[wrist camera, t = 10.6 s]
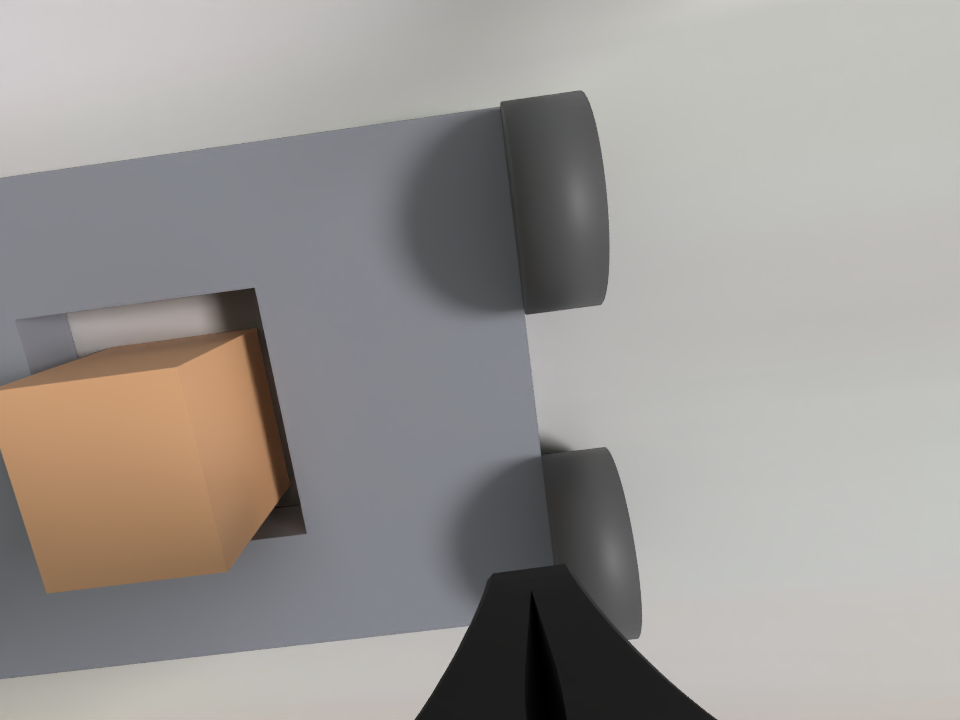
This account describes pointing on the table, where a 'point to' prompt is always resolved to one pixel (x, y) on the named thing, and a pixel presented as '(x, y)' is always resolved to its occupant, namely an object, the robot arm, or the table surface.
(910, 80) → the table surface
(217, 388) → the block
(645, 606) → the table surface
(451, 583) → the chassis
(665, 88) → the table surface
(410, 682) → the table surface
